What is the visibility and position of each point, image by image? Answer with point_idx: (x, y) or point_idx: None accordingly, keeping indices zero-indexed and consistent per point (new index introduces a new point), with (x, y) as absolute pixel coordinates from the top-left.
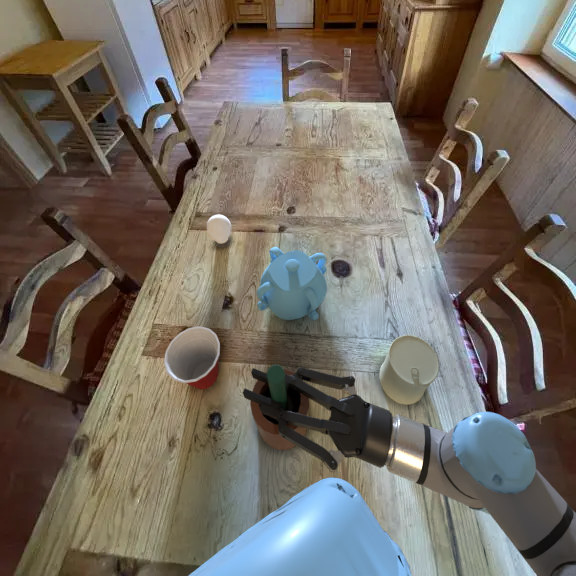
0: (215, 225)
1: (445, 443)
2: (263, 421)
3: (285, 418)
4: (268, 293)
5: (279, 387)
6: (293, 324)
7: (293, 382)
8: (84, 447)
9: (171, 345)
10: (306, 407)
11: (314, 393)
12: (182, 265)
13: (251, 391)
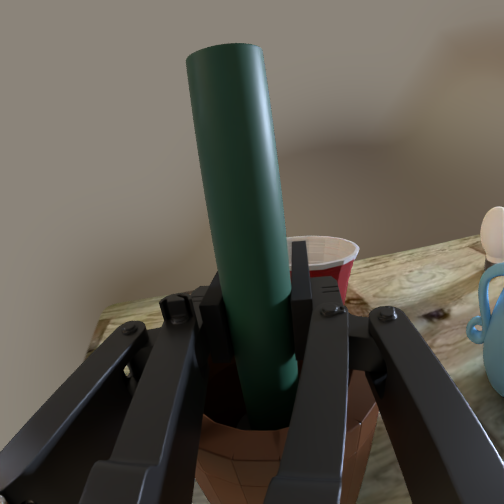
0: (493, 213)
1: None
2: None
3: (164, 330)
4: (501, 298)
5: (196, 111)
6: (495, 411)
7: (320, 313)
8: (189, 294)
9: (303, 237)
10: (268, 453)
11: (314, 400)
12: (428, 261)
13: None
